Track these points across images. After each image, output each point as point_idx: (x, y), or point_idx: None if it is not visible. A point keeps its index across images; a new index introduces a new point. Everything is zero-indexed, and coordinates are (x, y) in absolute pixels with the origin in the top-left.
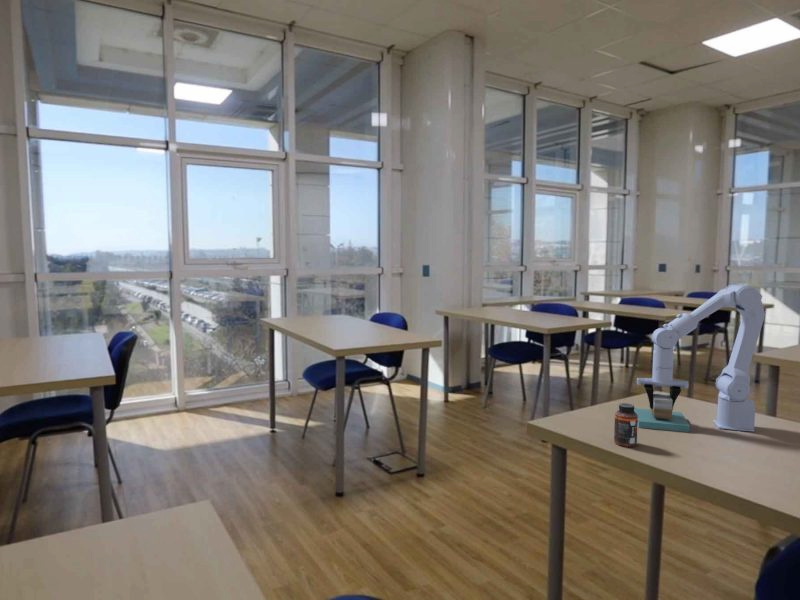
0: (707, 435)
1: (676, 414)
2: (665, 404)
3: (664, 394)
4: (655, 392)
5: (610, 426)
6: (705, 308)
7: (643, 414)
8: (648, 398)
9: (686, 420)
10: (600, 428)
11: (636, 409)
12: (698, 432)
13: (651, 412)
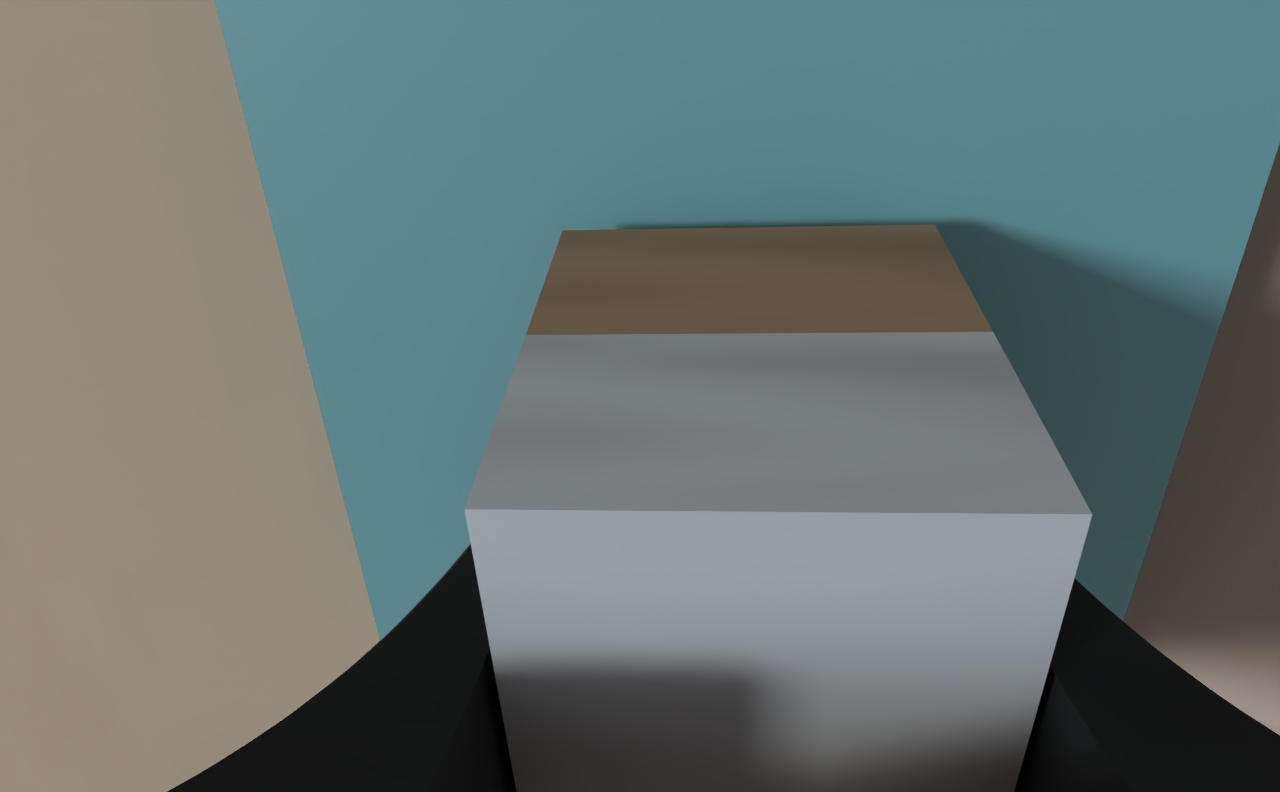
0: (1255, 690)
1: (1117, 197)
2: None
3: (891, 666)
4: (615, 512)
5: (103, 674)
6: None
7: (439, 393)
8: (434, 595)
9: (1156, 517)
10: (31, 748)
11: (268, 75)
12: (1188, 621)
13: (590, 211)
